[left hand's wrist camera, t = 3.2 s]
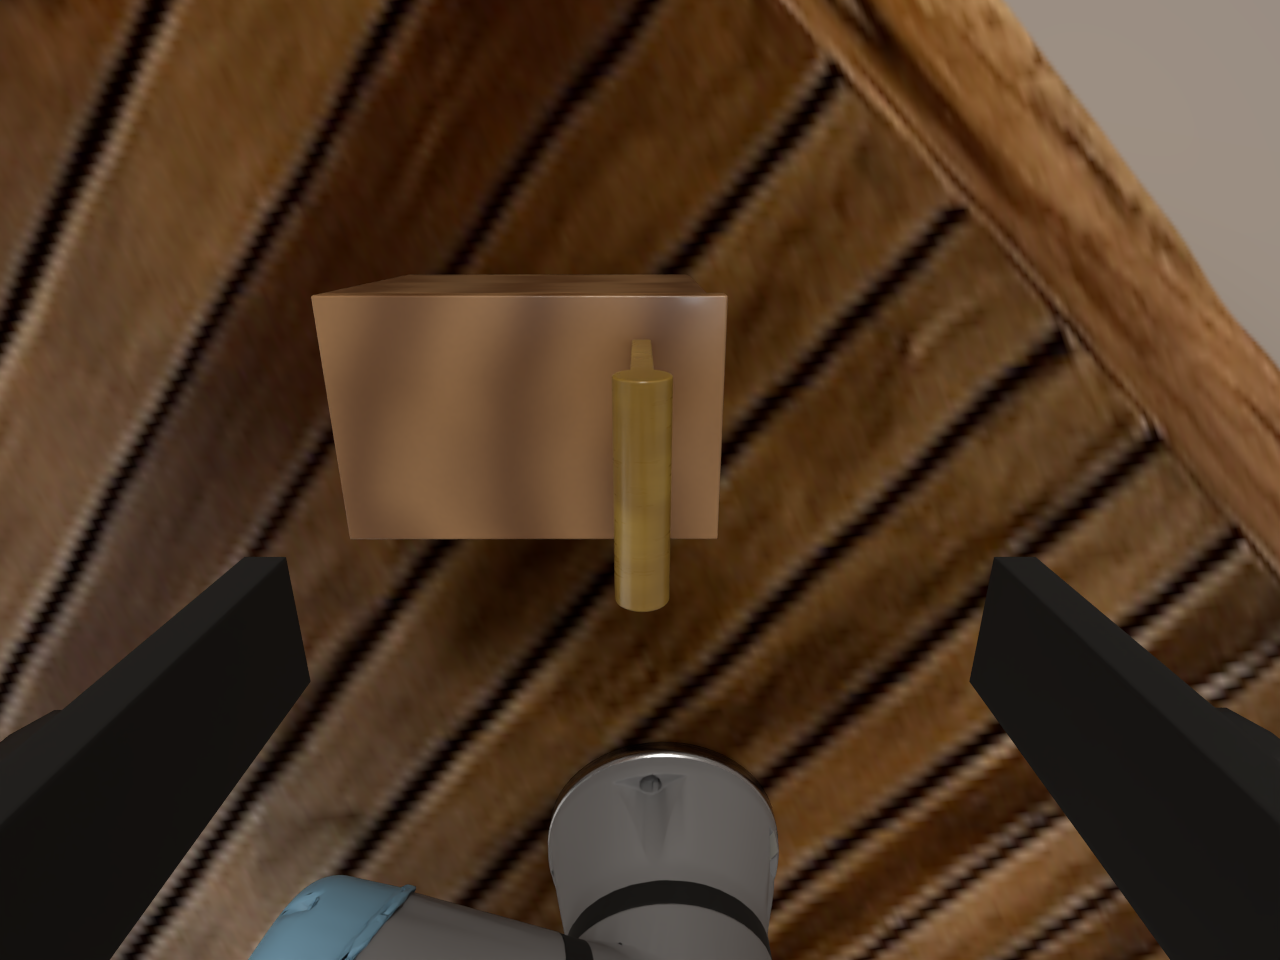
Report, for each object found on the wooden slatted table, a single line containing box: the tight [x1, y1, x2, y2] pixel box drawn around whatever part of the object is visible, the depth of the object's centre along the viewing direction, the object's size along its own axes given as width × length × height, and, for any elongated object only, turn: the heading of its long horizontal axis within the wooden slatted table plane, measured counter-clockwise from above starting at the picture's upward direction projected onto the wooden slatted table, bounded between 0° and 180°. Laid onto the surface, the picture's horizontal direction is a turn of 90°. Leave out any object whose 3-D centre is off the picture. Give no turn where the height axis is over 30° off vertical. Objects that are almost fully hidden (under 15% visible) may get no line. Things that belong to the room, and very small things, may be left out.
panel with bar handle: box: [311, 293, 728, 612], centre depth 23 cm, size 15×9×9 cm, turn 90°
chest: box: [326, 275, 706, 293], centre depth 31 cm, size 14×9×10 cm
